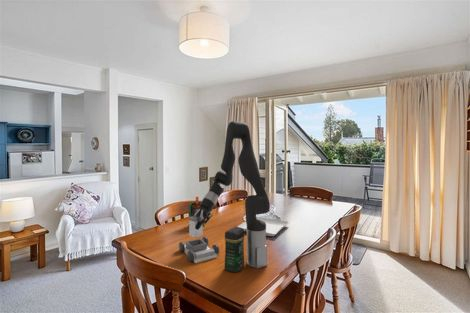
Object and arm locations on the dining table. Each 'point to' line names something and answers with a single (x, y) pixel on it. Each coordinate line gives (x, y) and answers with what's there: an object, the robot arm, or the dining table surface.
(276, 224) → the square plate
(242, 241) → the coffee jar
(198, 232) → the grey-topped square pillar
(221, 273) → the dining table surface
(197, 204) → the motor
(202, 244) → the car chassis
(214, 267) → the dining table surface
